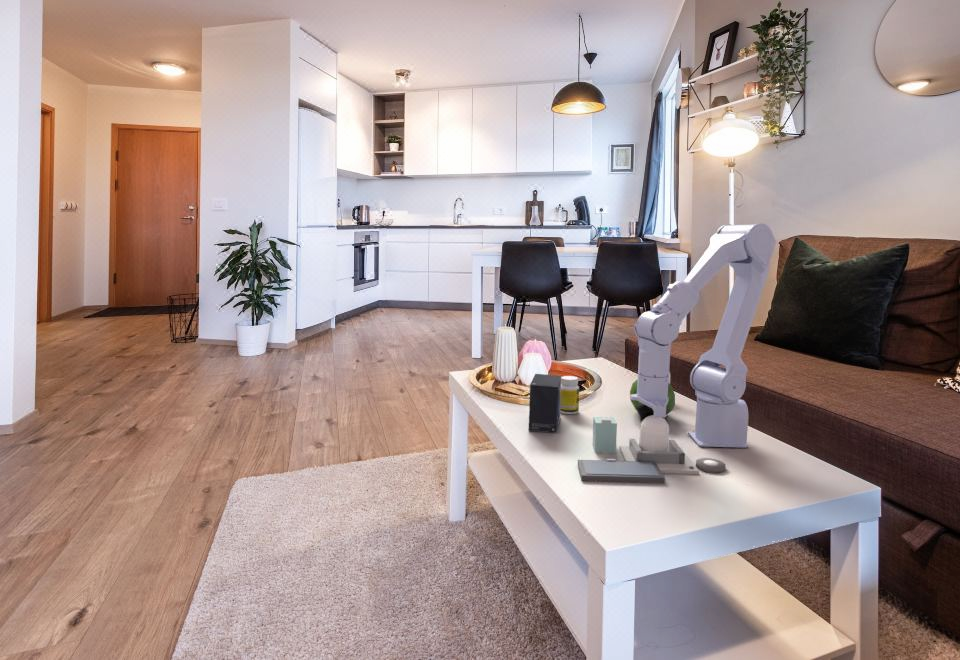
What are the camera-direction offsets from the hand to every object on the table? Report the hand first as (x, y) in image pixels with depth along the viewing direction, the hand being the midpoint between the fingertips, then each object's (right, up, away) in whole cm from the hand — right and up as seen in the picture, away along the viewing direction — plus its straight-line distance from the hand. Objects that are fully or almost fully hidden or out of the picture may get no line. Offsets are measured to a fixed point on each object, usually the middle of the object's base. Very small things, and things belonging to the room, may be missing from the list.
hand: (649, 441), depth 112 cm
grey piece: (0, -3, -5) cm, 6 cm away
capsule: (0, -2, -3) cm, 4 cm away
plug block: (-9, -2, +1) cm, 9 cm away
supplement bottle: (-12, +2, +25) cm, 28 cm away
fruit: (+7, +2, +23) cm, 24 cm away
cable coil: (+9, -3, -8) cm, 12 cm away
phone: (-9, -4, -11) cm, 14 cm away
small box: (-19, 0, +15) cm, 24 cm away
